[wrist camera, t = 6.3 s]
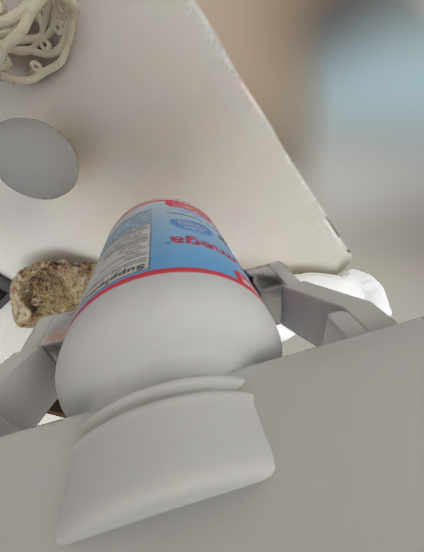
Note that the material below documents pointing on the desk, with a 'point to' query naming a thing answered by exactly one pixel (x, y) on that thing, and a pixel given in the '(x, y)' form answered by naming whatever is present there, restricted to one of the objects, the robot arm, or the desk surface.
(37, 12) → the white lattice sculpture
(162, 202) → the pill bottle
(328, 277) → the fish
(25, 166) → the light bulb
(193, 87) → the desk surface
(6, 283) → the cell phone
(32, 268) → the seashell
